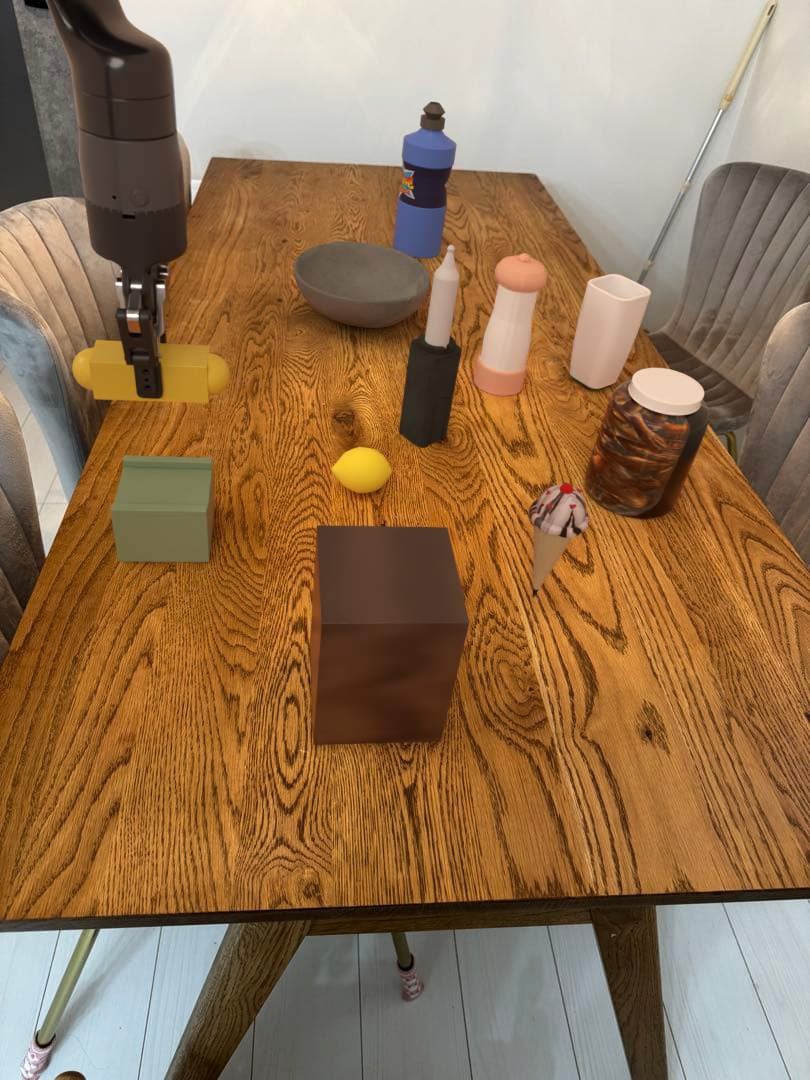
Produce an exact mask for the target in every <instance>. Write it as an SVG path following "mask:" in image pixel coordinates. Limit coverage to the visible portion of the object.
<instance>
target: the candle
mask: <svg viewBox="0 0 810 1080" xmlns="http://www.w3.org/2000/svg"><path fill="white" fill-rule="evenodd" d="M446 250H447V252H446V254H445V256H444V259H443V260H442V263H441V264H440V266H439V267H438V268H437V269H436V270H435V272H434V273H433V279H432V287H431V294H430V301H429V307H428V314H427V321H426V327H425V333H423V332H422V333H420V334H419V335H418V337H417V338H415V339H412V340H411V341H410V343H409V352H408V357H407V366H406V372H405V373H406V374H405V381H404V389H403V395H402V405H401V411H400V420H399V427H398V432H399V434H400V435H401V436H403V437H404V438H405V439H406V440H407V441H409V442H411V443H412V444H413V445H414V446H416V447H419V448H426V447H429V445H432V444H435V443H438V442H439V441H445V439H446V438H447V434H448V429H449V422H450V417H451V411H452V406H453V402H454V401H453V400H454V395H455V390H456V389H455V388H456V384H457V378H458V374H459V373H458V372H459V366H460V361H461V355H462V347H461V346H459V344H457V342H456V340H455V338H454V337H452V335H451V332H452V326H453V320H454V314H455V309H456V303H457V296H458V291H459V286H460V279H461V277H460V274H459V271H458V268H457V266H456V261H455V260H456V259H455V253H454V252H455V251H456V248H455V246H454V245H453V244H449V245H448V246H447V248H446Z"/></svg>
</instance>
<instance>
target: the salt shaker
mask: <svg viewBox="0 0 810 1080" xmlns="http://www.w3.org/2000/svg"><path fill="white" fill-rule="evenodd" d="M494 277H495V280H496V282H497V289H496V294H495V300H494V304H493V309H492V312H491V314H490V317H489V320H488V323H487V326H486V328H485V331H484V334H483V340H482V345H481V352H480V354H478V356H477V360H476V365H475V370H474V375H473V380H472V381H473V383H474V385H475V386H476V387H477V388H478V389H479V390H482V391H483V392H484V393H488V394H490V395H494V396H499V397H502V396H503V397H508V396H515V395H517V394H519V393H520V392H521V391H522V390H523V387H524V383H525V378H526V374H527V370H528V363H527V358H528V356H529V351H530V348H531V341H532V326H533V316H534V312H535V307H536V303H537V298H538V294H539V291H541V290H542V289H543V288H544V286H546V284H547V282H548V271H547V269H546V266H544V264H543V263H542V262H540V261H539V260H537V259H535V258H533V257H531V255H530V254H529V253H526V252H524V253H520V254H518V255H509V256H505V257H503V258H502V259H501V260H499V262H498V263H497V264H496V267H495V269H494Z"/></svg>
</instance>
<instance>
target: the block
mask: <svg viewBox="0 0 810 1080" xmlns="http://www.w3.org/2000/svg"><path fill="white" fill-rule="evenodd" d="M213 461H214V460H213V457H207V456H206V457H202V456H201V457H200V456H169V455H167V456H166V455H135V454H134V455H133V454H123V457H122V471H121V474H120V478H119V483H118V487H117V490H116V494H115V498H114V502H113V503H111V504H110V508H109V511H110V519H111V525H112V531H113V537H114V544H115V550H116V557H117V562H119V563H120V562H121V563H123V562H124V563H128V562H129V563H210V561H211V560H210V559H211V551H212V540H213V530H214V520H215V508H216V503H215V502H216V501H215V482H214V463H213Z"/></svg>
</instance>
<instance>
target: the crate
mask: <svg viewBox="0 0 810 1080" xmlns="http://www.w3.org/2000/svg"><path fill="white" fill-rule="evenodd" d="M313 568H314V569H313V582H312V583H313V585H312V600H311V601H312V602H311V617H310V618H311V621H310V639H309V663H310V691H311V692H310V694H311V724H312V726H311V727H312V745H313V746H325V745H326V746H328V745H329V746H330V745H364V744H366V745H367V744H400V743H401V744H403V743H436V742H437V743H438V742H439V743H440V742H442V738H443V734H444V730H445V725H446V722H447V718H448V714H449V710H450V705H451V700H452V697H453V694H454V693H453V692H454V688H455V685H456V681H457V676H458V673H459V669H460V664H461V660H462V656H463V651H464V647H465V644H466V639H467V634H468V632H469V627H470V618H469V613H468V610H467V606H466V602H465V598H464V593H463V588H462V584H461V579H460V576H459V571H458V566H457V563H456V559H455V554H454V549H453V544H452V541H451V537H450V531H449V528H448V526H447V527H446V526H392V525H391V526H387V525H385V526H383V525H331V524H330V525H329V524H328V525H326V524H325V525H324V524H320V525H319V524H318V525H316V533H315V551H314V567H313Z"/></svg>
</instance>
